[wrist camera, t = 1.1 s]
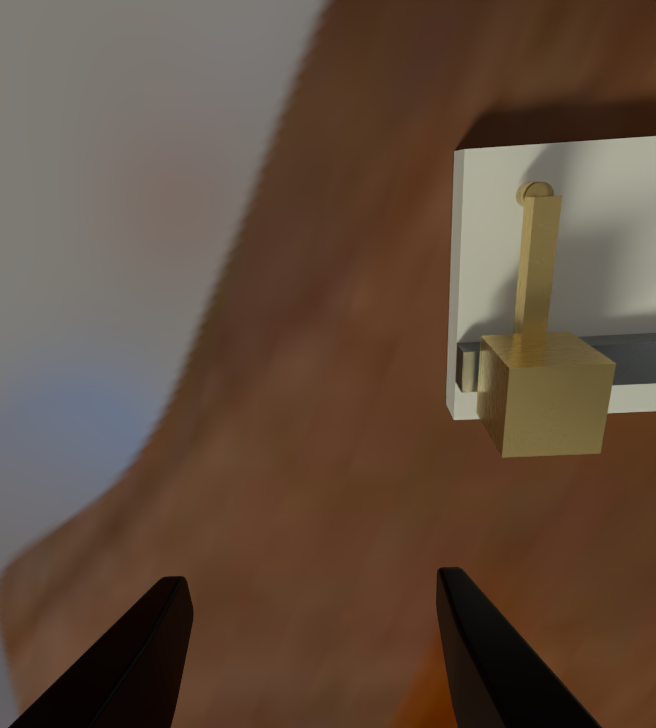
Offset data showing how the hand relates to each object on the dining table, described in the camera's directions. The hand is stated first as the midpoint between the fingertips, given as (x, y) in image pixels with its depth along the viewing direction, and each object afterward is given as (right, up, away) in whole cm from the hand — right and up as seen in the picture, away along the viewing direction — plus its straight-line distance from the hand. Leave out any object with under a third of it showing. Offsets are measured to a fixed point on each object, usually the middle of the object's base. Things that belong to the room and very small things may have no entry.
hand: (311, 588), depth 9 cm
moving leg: (+7, +6, +8) cm, 12 cm away
